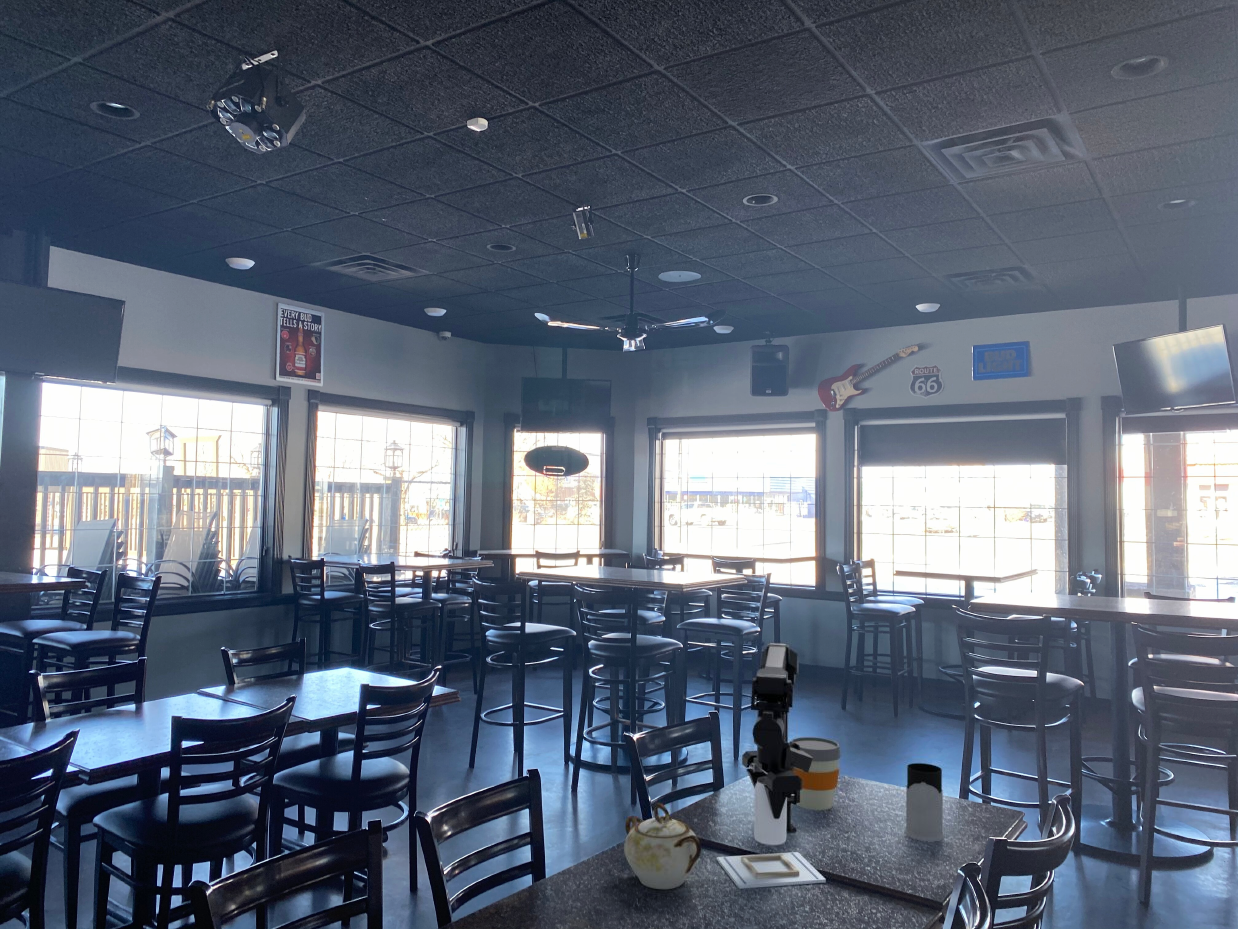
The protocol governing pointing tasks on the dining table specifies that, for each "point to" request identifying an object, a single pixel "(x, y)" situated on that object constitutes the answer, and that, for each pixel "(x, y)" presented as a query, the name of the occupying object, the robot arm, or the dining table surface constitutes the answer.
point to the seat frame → (781, 857)
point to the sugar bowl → (661, 850)
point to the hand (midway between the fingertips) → (770, 812)
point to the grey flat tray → (748, 880)
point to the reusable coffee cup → (818, 772)
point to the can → (768, 818)
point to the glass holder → (924, 802)
